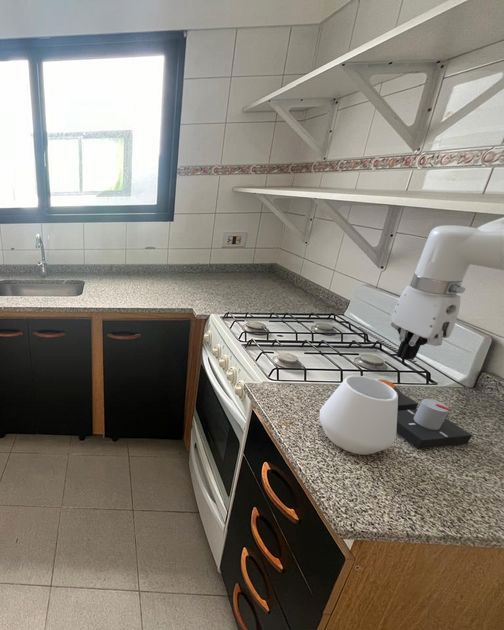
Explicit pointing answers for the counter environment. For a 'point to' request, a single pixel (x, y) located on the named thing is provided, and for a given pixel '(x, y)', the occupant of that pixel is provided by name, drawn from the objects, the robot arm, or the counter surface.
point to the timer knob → (431, 414)
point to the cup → (361, 415)
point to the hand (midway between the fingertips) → (404, 357)
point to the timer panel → (429, 432)
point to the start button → (388, 383)
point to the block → (405, 401)
